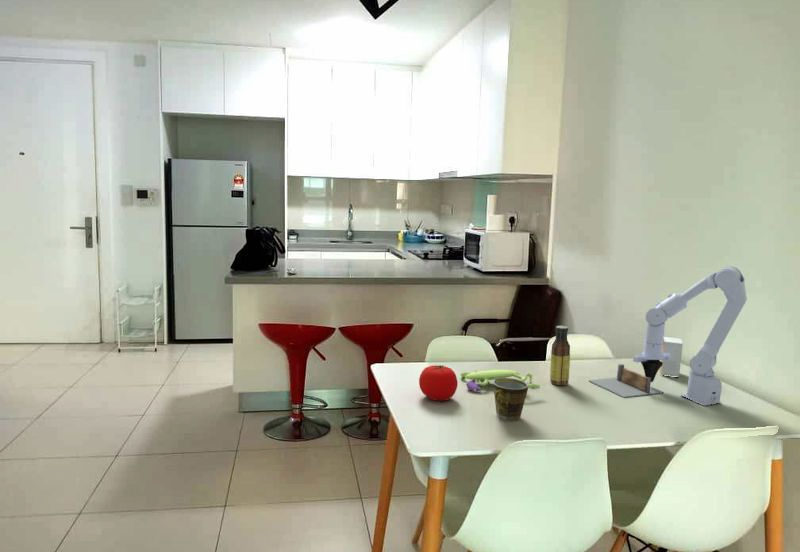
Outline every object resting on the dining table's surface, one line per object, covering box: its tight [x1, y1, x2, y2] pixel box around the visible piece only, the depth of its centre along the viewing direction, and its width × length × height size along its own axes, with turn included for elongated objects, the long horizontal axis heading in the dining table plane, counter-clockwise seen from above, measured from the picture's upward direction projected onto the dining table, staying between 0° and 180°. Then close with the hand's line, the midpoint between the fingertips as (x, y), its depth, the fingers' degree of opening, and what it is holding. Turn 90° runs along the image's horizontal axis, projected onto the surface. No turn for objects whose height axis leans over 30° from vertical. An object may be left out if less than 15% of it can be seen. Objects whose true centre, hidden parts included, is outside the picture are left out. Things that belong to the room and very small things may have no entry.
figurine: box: [460, 369, 541, 392], centre depth 205 cm, size 18×27×6 cm
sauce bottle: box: [549, 325, 571, 386], centre depth 211 cm, size 6×6×20 cm
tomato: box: [418, 364, 458, 402], centre depth 191 cm, size 12×12×10 cm
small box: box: [659, 336, 684, 377], centre depth 228 cm, size 8×6×13 cm
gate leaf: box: [621, 367, 648, 391], centre depth 211 cm, size 11×1×4 cm, turn 23°
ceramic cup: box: [492, 377, 529, 422], centre depth 178 cm, size 13×10×10 cm
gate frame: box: [588, 363, 663, 399], centre depth 211 cm, size 17×17×6 cm
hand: (649, 381), depth 211 cm, fingers closed
